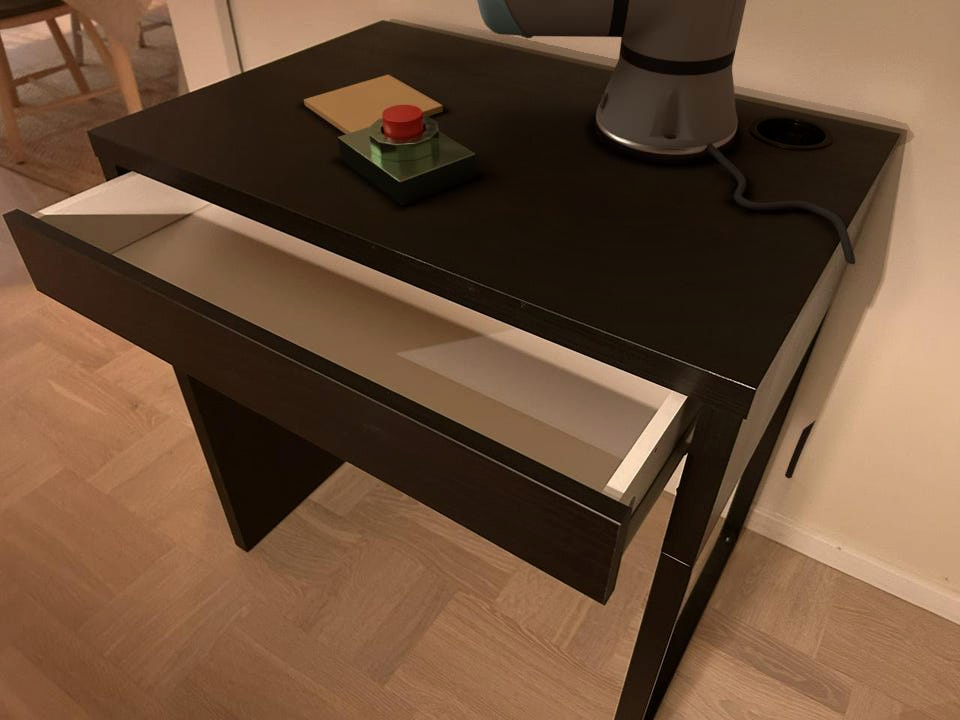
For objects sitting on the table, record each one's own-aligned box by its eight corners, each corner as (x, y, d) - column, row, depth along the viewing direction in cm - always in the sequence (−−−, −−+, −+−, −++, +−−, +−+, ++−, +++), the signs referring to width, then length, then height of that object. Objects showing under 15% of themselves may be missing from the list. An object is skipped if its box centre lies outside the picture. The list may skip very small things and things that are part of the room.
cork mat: (443, 111, 88) (442, 105, 88) (355, 141, 83) (354, 134, 82) (389, 80, 95) (388, 74, 95) (304, 105, 90) (303, 99, 90)
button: (431, 133, 75) (430, 114, 74) (397, 145, 73) (396, 125, 72) (409, 120, 77) (408, 100, 76) (376, 131, 76) (374, 111, 74)
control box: (476, 177, 76) (475, 136, 73) (402, 206, 73) (398, 164, 69) (411, 136, 84) (408, 97, 81) (341, 160, 80) (334, 120, 77)
